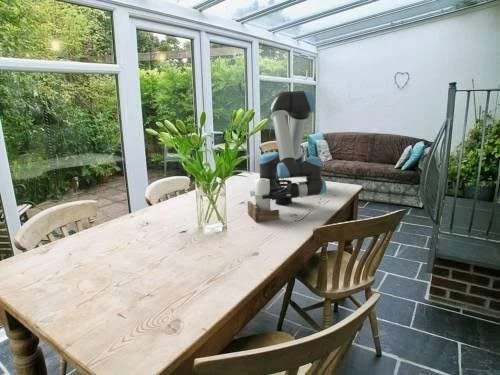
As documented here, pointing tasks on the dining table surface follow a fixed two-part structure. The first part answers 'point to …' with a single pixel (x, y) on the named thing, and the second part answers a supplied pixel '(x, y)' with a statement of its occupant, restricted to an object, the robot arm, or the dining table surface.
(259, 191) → the roll
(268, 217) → the holder
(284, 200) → the french press
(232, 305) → the dining table surface
